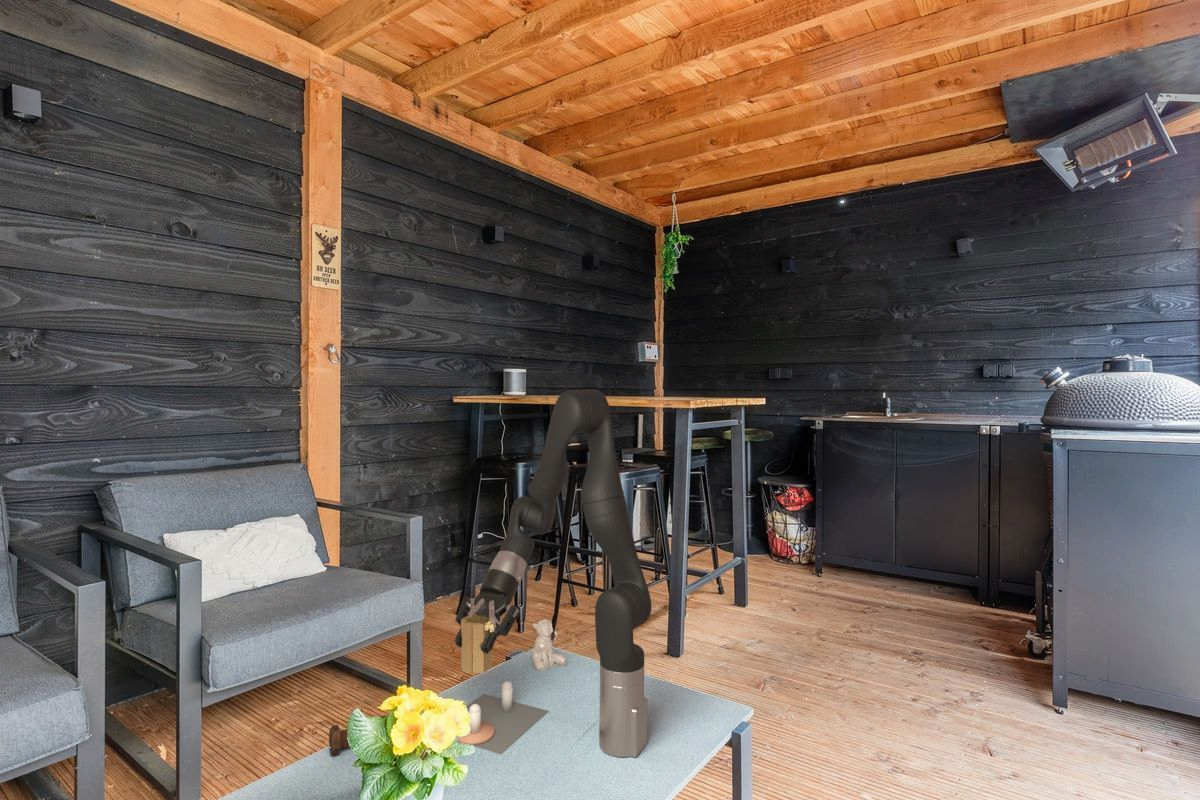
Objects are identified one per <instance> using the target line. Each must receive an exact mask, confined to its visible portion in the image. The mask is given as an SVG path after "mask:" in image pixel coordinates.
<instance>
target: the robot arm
mask: <svg viewBox="0 0 1200 800" xmlns="http://www.w3.org/2000/svg"><path fill="white" fill-rule="evenodd" d="M609 404H610V403H609V401H608V400H607V397H606V396H605V394H604V393H603V392H602V391H601V390H599V389H594V388H593V389H592V388H589V389H587V388H586V389H574V390H566V391H564V392H562V393H561V394H560V395H559V396H558V397H557V399H556V401H555V404H554V406H553V409H552V412H551V417H550V421H549V425H548V429H547V434H546V438H545V443H544V447H543V452H542V455H541V457H540V461H539V463H538V466H537V468H536V470H535V472H534V475H533V477H532V480H531V481H530V484H529V487H528V494H529V496H530V497H528V496H525V495H523V496H519V497H518V498H517V499H515V500H514V501H513V504H512V506H511V508H510V514H509V515H510V516H509V522H508V523H509V524H508V529H507V532H506V535H505V537H504V539H503V542H502V544H501V546H500V548H499V551H498V552H497V554H496V555H495V557H494V559H493V561H492V563H491V565H490V567H489V569H488V571H487V573H486V575H485V577H484V578H483V581H482V583H481V585H480V589H479V593H478V595H477V596H475V598H469V597H468V595H466V596H464V597H463V598H462V601H461V604H460V606H459V609H458V612H457V615H456V617H455V622H456V623H457V624H458V625H459V626H460V628H459V630H458V632H457V634H456V636H455V640H454V642H455V645H456V646H457V647H458V648H460V649H461V619H462V618H464V617H466V616H469V615H471V616H472V615H476V614H477V615H481V616H486V617H489V619H491V626H490V632H488V634H487V636H486V638H485V640H484V642H483V644H482V646H481V651H482V652H483V653H486V654H488V652H489V651H491V652H492V650H493V649H494V646H495V645H494V644H495V643H496V640H497V639H498V638H499V637H500V636H503V637H506V636H508V635H509V633H510V632H511V629H512V628H513V625H514V624H515V623H516V621H517V619H518V617H519V615H520V613H521V612H520V610H519V609H518V607H517V606H516V605H515V604H512V605H510V604H511V602H512V601H513V600H514V597H515V595H516V592H517V590H518V588H519V586H520V584H521V582H522V580H523V579H522V578H523V577H524V574H525V570H526V567H527V565H528V563H529V561H530V557H531V556H532V554H533V551H534V548H535V542H534V540H533V538H531V537H530V536H529V535H528V534H526V533H525V532H524V531H523V530H522V528H523V529H525V530H527V531H530V532H532V533H534V534H536V535H540V536H541V535H545V534H547V533H548V532H550V530H551V529H552V527H553V525H554V520H555V515H556V514H555V512H556V503H557V501H558V500H557V499H558V497H559V495H560V492H561V491H562V488H563V486H564V484H565V481H566V479H567V477H568V471H569V470H568V461H567V460H568V459H567V455H566V454H567V453H566V451H567V447H568V445H569V443H570V441H571V439H572V438H573V437H574V435H575V434H580V433H585V434H586V438H587V446H588V454H589V455H588V463H587V467H586V471H585V475H584V478H583V481H582V486H581V491H580V498H581V499H580V500H581V504H582V505H581V506H582V510H583V515H584V519H585V523H586V527H587V529H588V531H589V533H590V535H591V536H592V538H593V540H595V542H596V544H597V546H598V547H600V549H601V550H602V552H603V553H604V555H605V557H606V558H607V561H608V562H609V563H608V564H609V565H610V570H611V574H612V578H613V585H614V586H613V587H610V588H609V589H606V590H605V591H603V592H601V593H600V594H599V596H598V597H597V599H596V602H595V607H594V624H595V625H594V627H595V645H596V649H597V653H598V656H599V715H598V716H599V718H598V719H599V725H598V727H599V732H598V740H599V741H598V743H599V745H598V746H599V748H600V750H601V751H602V752H604V753H605V754H607V755H609V756H612V757H616V758H627V757H628V758H630V757H632V758H637V757H638V756H639V754H640V753H641V752H642V750H643V749H644V748H645V746H646V745H647V744H648V698H647V697H645V651H644V649H643V648H642V647H641V646H640V645H638V644H636V643H634V629H637V628H638V627H640V626H642V625H644V624H645V623H646V622H648V620H649V619H650V617H651V615H652V609H653V607H652V606H653V605H652V599H651V595H650V591H649V588H648V585H647V582H646V581H647V580H646V578H645V575H644V572H643V568H642V566H641V563H640V559H639V556H638V553H637V548H636V543H635V540H634V535H633V532H632V531H633V530H632V525H631V523H630V517H629V509H628V506H627V501H626V496H625V492H624V489H623V485H622V480H621V476H620V470H619V465H618V460H617V455H616V454H617V453H616V449H615V441H614V440H615V439H614V432H613V431H614V430H613V423H612V414H611V408H610V406H609ZM503 615H504V617H503V619H502V616H503Z"/></svg>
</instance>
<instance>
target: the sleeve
mask: <svg viewBox="0 0 1200 800" xmlns="http://www.w3.org/2000/svg"><path fill="white" fill-rule="evenodd" d="M490 626H491V619H489V617H486V616H481V615H477V614H475V615H472V616H471V615H469V616H466V617H464V618H462V619H461V626H460V628H461V648H460V667H461V670H462V672H463V673H468V674H480V673H485V672H487V671H488V670H490V669H492V650H491V651H489V652H488V654H486V653H483V652H482V651H481V646H482V644H483V642H484V640H485V638H486V636H487V634H488V632H490Z"/></svg>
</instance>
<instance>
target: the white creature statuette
mask: <svg viewBox="0 0 1200 800" xmlns="http://www.w3.org/2000/svg"><path fill="white" fill-rule="evenodd" d="M532 627H533V628H534V629H536V630H535V631H536V634H537V637H536V639H535V642H534V646H533V648H532V651H531V653H530V654H531V656H530V657H531V661H532V664H533V666H534V669H535V671H539V672H543V673H544V672H545V671H546V670H548V669H549V668H553V667H554V668H555V667H556V666H562V667H565V666H567V661H568V660H567V658H566V657H564V656H563V655H562V654H560V653H555V652H554V651H553V641H552V637H551V636H552V634H553V632H554V629H553V623H552V620H550V619H546V618H544V619H541V620H538V622H537V623H532Z"/></svg>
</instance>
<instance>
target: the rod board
mask: <svg viewBox="0 0 1200 800" xmlns="http://www.w3.org/2000/svg"><path fill="white" fill-rule="evenodd" d="M465 707H467V709H468V711H469V714H470V716H471V731H470V734H468V735H466V736H463V737H459V738H458V739H457V740H458V741H457V742H458V743H459V742H461V743H464V744H472V745H474V746H473V747H476V748H479V749H482V750H485V751H488V752H490V753H491V752H492V753H494V754H498V755H503V754H504V753H505V752H506V751H507V750H508V749H509V748H510V747H512V746H513V744H515V743H516V742H517V741H518V740H519V739H520V738H521V737H522V736H524V735H525V734H526V733H527V732H528V731H529V730H530V729H532V728H533V727H534V726H535V725H536V724H537V723H538V722H540V721H541V720H542V718H544V717H545V716H546V715H547V714H548V713H549V712H550V710H547V709H544V708H539V707H535V706H534V705H533V706H532V705H528V704H524V703H521V702H517V701H513V683H512V682H511V681H508V680H507V681H504V682H503V683H502V685H501V698H500V697H499V696H498V697H497V696H494V695H491V694H486V693H482V694H481V695H480V696H478V697H477V698H476V699H474V700H473V701H471V702H470V703H469V704H467V705H466V706H465ZM461 743H460V744H461ZM464 744H463V745H464Z"/></svg>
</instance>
